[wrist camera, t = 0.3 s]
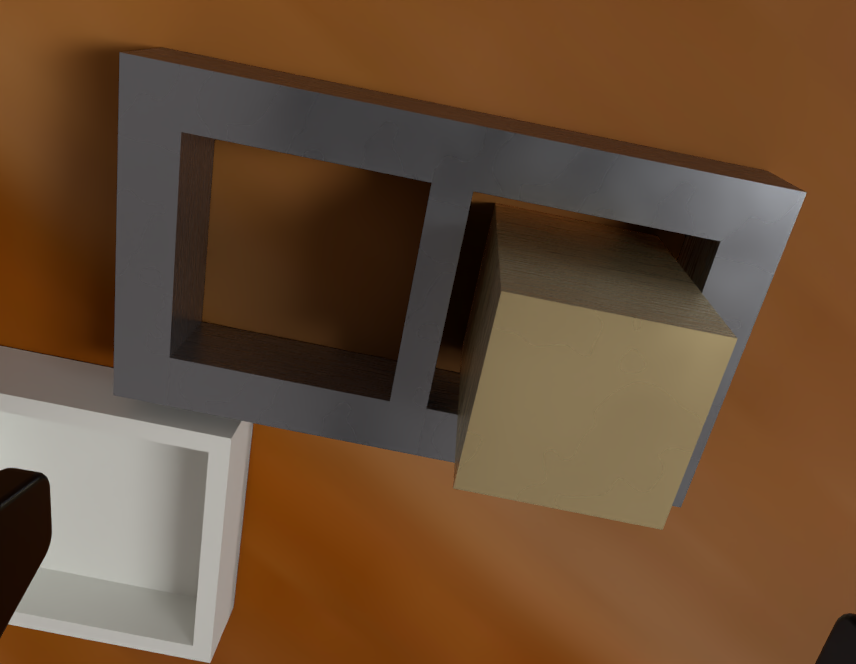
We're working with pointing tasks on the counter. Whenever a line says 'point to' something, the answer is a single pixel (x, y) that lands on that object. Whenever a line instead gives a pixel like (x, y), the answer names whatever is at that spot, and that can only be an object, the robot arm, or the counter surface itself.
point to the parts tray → (126, 507)
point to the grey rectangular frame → (438, 252)
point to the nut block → (584, 369)
